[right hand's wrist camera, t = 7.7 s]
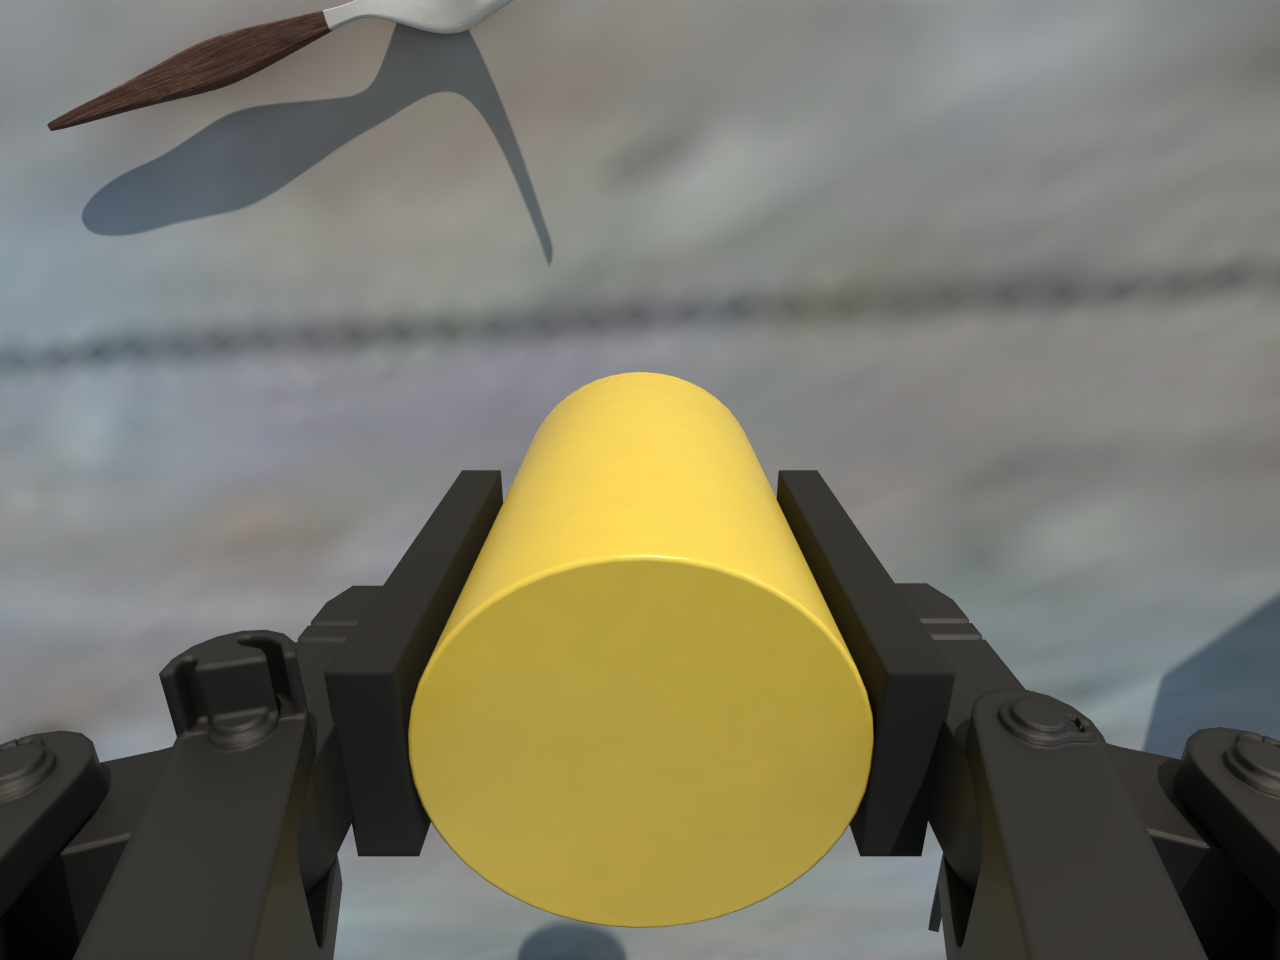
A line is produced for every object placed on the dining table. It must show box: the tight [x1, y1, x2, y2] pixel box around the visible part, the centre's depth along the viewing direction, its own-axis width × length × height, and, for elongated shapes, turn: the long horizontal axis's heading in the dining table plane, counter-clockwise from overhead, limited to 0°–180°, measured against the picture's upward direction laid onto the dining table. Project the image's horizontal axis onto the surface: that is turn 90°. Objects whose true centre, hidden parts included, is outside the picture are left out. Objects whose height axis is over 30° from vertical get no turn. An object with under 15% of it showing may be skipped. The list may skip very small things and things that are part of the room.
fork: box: [48, 0, 513, 131], centre depth 20 cm, size 3×16×2 cm, turn 107°
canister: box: [408, 372, 874, 928], centre depth 12 cm, size 6×6×9 cm
